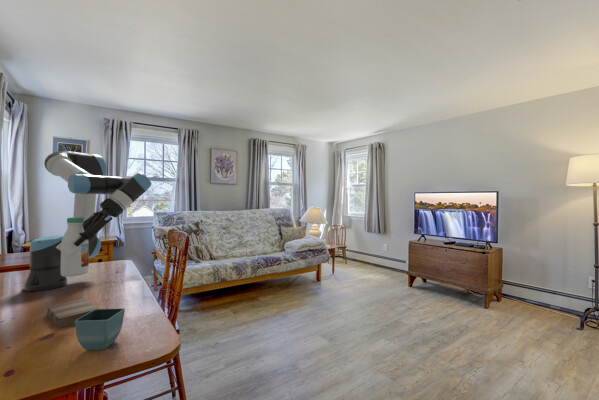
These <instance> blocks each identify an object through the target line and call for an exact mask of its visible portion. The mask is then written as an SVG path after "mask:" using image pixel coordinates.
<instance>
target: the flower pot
mask: <svg viewBox="0 0 599 400" xmlns="http://www.w3.org/2000/svg"><path fill="white" fill-rule="evenodd" d="M125 311H126V309H125V308H124V307H122V308H119V307H118V308H99V309H94V310H92V311H91V312H89V313H87V314H85V315H84V316H82V317H80V318H78V319H77V320H75V324H74V326H75V332H76V334H75V335H76V339H77V341H78V343H79V344H80V346H81V347H82V348H83V349H84V350H85V351H98V350H99V351H100V350H101V351H102V350H106V349H107V348H109V346H111V345H112V344H113V343H114V342H115V341H116V339H117V338H118V336H119V335H120V333H121V330H122V328H123V324H124V317H125Z"/></svg>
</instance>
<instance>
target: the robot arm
mask: <svg viewBox="0 0 599 400" xmlns="http://www.w3.org/2000/svg"><path fill="white" fill-rule="evenodd" d="M43 163H44V168H45V169H46V171H48V173H49V174H51V175H53V176H56V177H59V178H61V179H62V180H64V181H65V182H67V189H68V191H69V192H70V193H72V194H74V204H73V216H72V218H84V222H83V223H84V224H83V229H84V232H83V233H82V232H81V233H79V236H78V237H76V238H75V239H74V240H73V241H72V242H71V243H70V244H68V245H67V246H66V247H65V248H64V249H63V250H62V251H64V252H65V253H67V254H68V255H71V254H72V253H73V252H74V251H75V250H76V249H77V248H78V247H80V246H81V245H82V244H83V243H84V242H85V241H86V240H88V243H89V259H91V258H95V257H97V255H98V254H99V252H100V250H101V246H102V240H101V237H100V236H99V235H98V233H99V232H100V231H101V230H102V229H103V228H104V227H105V226H106V225H107V224H108V223H109V222H111V221H112V220H113V218H118V217H119V216H120V215H121V214H123V212H124V211H125V210H127V209H128V208H131V207H132V206H131V205H132V204H133V203H135V201H136V200H138V199H139V198H140V197H141V196H142V195H143V194H145V193H146V192H147V191H148V190H149V188H151V186H152V181H151V180H150V178H149V177H147V175H145V174H144V173H142V172H136V173H135V174H133V175H131V177H125V176H114V175H113V176H111V175H107V170H108V169H107V168H108V167H107V164H106V160H105V158H104V157H103V156H101V155H100V154H94V153H87V152H80V151H79V152H78V151H69V150H58V151H54V152H52V153H50V154H48V155H47V156H46V157H45V159H44V162H43ZM97 195H108V198H107V197H106V199H104V200H103V201H101V202H100V204H99V207H100V208H101V210H99V211H97V212H96V200H97ZM80 235H81V236H80ZM63 236H64V235H60V234H59V235H49V236H42V237H39V238H36V239H33V240H32V241H31V242H30V246H29V251H28V252H29V273H28V275H27V278H26V280H25V282H24V285H23V290H24V291H27V292H39V291H48V290H53V289H57V288H61V287H64V286H66V285H67V284H68V277H66V276H61V242H62V238H63Z"/></svg>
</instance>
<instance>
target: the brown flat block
mask: <svg viewBox="0 0 599 400" xmlns="http://www.w3.org/2000/svg"><path fill="white" fill-rule="evenodd" d="M94 309H100V308H99V307H98V306H96V305H95V304H93V303H92V302H91V301H89V300H88V299H86V298H83V299H82V298H81V299H78V300H72V301H68V302H64V303H58V304H55V305H49V306H47V310H46V311H47V313H46V315H47V316H48V317H49V319H50V320H51V321H52V322H53V323H54V324H55V326H56V327H58V328H59V329H60V328H64V327H68V326H72V325H75V320H77V319H78V318H80V317H82V316H84V315H85V314H87V313H89V312H91V311H92V310H94Z"/></svg>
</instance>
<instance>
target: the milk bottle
mask: <svg viewBox="0 0 599 400" xmlns="http://www.w3.org/2000/svg"><path fill="white" fill-rule="evenodd" d="M83 222H84V218H73V217H68V218H66V225H67V228H66V231H65V233H64V234H63V235H62V236H63V238H62V242H61V276H66V277H67V278H68V277H76V276H81V275H86V274H88V273H89V259H90V258H89V243H88V240H86V241H85V242H84V243H83V244H82V245H81V246H80V247H78V248H77V249H76V250H75V251H74V252H73V253H72V254H71V255H68V254H67V253H65V252H64V251H62V250H63V249H64V248H65V247H66V246H67V245H68V244H70V243H71V242H72V241H73V240H74V239H75V238H76V237H78V236H79V233H81V232H82V233H83V232H84V229H83V224H84V223H83ZM80 236H81V235H80Z"/></svg>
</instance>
